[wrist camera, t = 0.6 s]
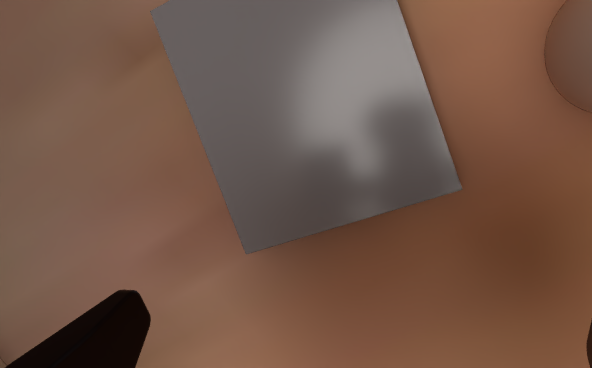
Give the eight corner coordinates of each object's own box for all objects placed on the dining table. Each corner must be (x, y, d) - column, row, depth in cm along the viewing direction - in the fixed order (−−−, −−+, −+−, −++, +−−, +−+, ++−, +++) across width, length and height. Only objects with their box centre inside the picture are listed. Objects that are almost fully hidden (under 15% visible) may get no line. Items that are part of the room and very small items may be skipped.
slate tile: (460, 184, 21) (462, 189, 20) (254, 246, 24) (246, 254, 23) (364, -94, 20) (360, -105, 18) (163, 15, 23) (150, 11, 22)
